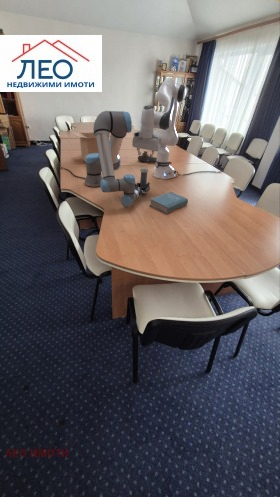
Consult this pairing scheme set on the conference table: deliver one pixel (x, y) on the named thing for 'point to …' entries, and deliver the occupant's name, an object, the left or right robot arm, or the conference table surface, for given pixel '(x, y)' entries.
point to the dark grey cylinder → (143, 180)
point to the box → (87, 143)
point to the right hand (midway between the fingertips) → (145, 155)
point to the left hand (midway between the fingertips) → (145, 183)
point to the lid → (144, 169)
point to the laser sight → (146, 158)
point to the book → (168, 202)
